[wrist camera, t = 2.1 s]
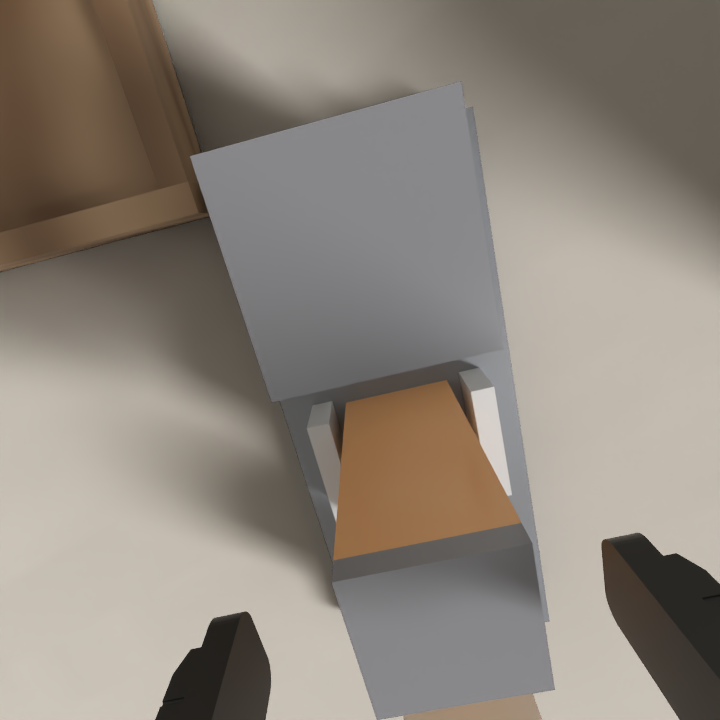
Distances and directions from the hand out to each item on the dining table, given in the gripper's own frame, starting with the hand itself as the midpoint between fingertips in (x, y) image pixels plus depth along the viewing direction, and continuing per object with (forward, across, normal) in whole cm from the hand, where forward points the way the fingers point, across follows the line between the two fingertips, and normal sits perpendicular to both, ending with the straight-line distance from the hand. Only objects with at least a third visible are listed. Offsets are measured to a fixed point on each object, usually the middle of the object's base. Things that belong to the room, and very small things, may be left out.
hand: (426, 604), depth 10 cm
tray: (+10, +10, -15) cm, 20 cm away
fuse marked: (+8, 0, 0) cm, 8 cm away
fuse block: (+10, 0, 0) cm, 10 cm away
